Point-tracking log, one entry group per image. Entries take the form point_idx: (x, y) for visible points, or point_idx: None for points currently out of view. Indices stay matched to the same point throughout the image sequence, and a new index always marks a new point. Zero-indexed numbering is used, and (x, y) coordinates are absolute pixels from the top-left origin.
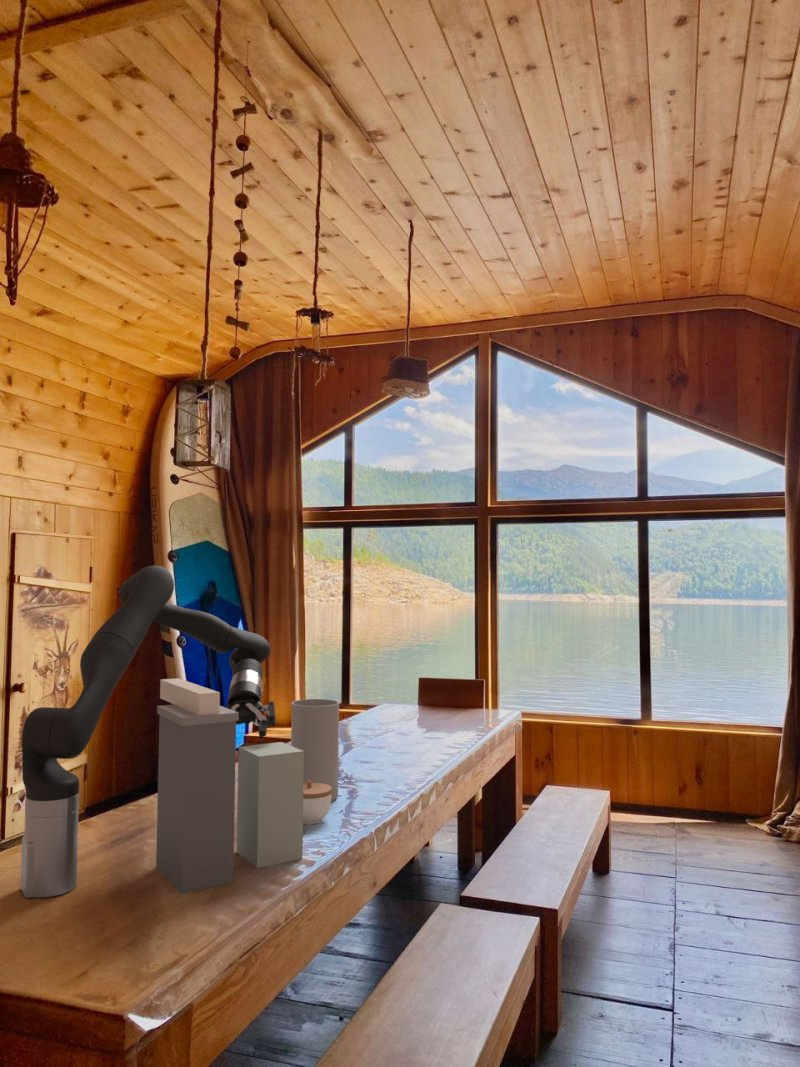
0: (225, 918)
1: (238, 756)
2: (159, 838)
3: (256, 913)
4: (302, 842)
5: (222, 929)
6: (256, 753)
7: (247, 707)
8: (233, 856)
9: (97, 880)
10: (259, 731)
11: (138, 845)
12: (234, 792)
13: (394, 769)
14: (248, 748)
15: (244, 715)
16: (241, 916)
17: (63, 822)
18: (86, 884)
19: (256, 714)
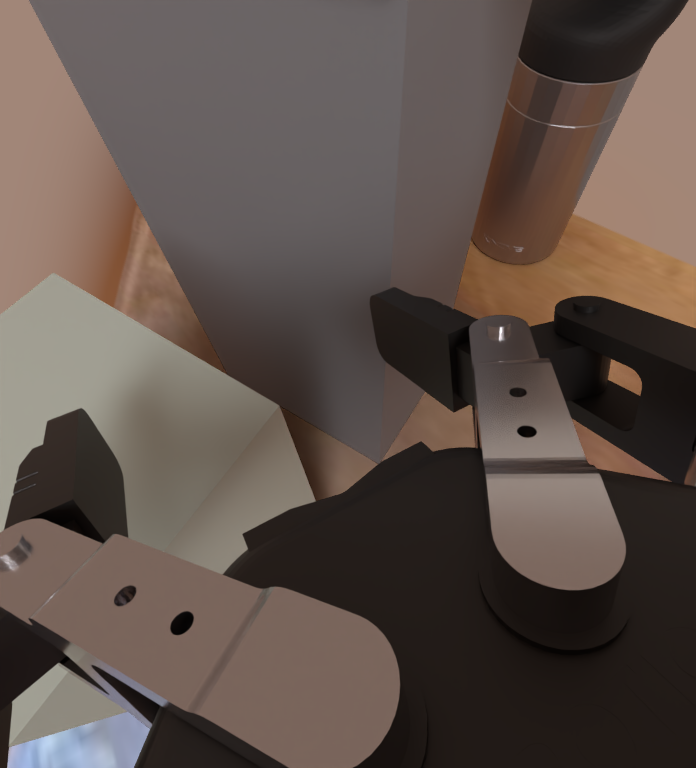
0: (167, 267)
1: (287, 430)
2: None
3: (126, 296)
4: None
5: (155, 242)
6: (89, 315)
7: (315, 611)
8: (212, 344)
9: (478, 284)
10: (74, 412)
11: (606, 465)
12: (149, 225)
13: None
14: (191, 394)
15: (316, 512)
16: (145, 280)
17: None
18: (478, 267)
19: (106, 544)
